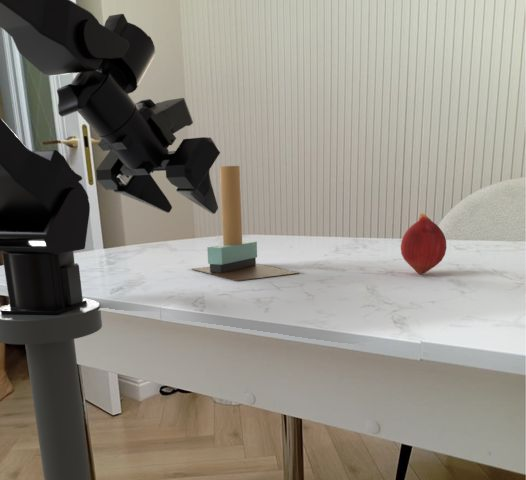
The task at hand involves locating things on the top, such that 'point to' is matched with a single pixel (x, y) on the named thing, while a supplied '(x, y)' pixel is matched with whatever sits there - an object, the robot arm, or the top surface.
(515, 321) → the top surface
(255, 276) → the brown flat rectangular panel
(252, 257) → the wiper
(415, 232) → the onion
